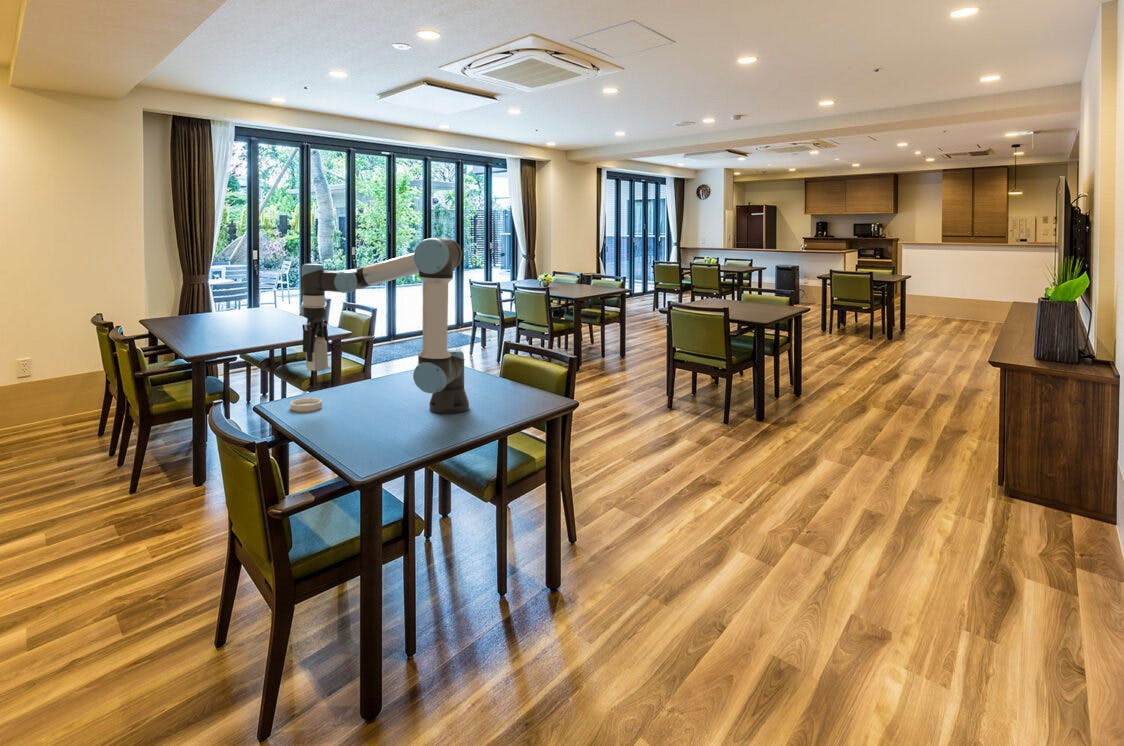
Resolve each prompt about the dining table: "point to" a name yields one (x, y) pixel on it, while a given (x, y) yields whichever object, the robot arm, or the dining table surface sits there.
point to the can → (320, 354)
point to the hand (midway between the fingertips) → (317, 367)
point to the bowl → (306, 404)
